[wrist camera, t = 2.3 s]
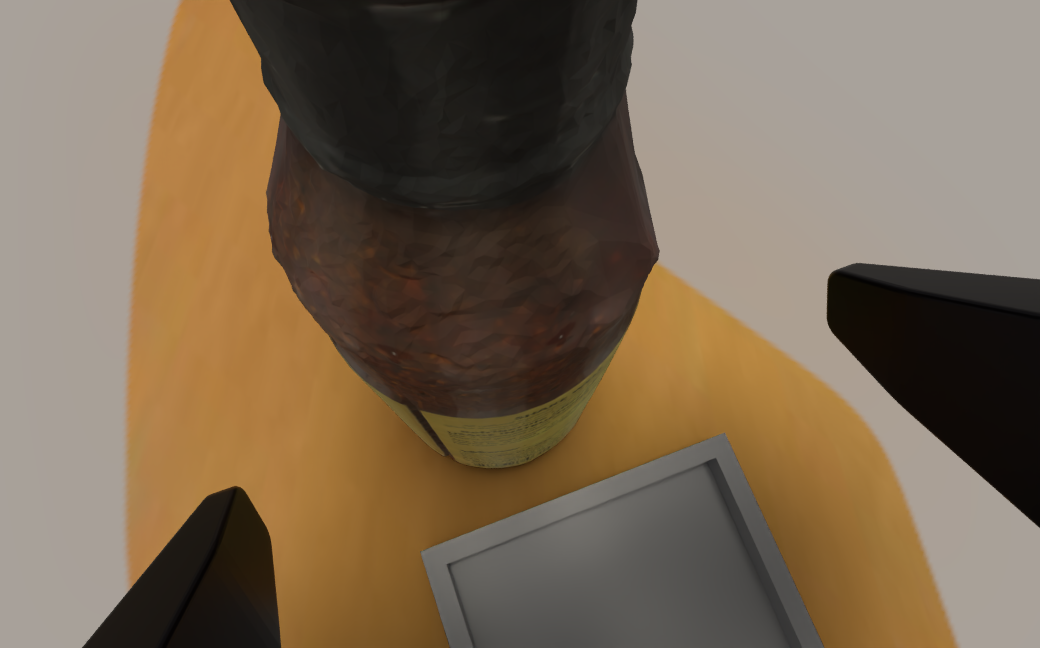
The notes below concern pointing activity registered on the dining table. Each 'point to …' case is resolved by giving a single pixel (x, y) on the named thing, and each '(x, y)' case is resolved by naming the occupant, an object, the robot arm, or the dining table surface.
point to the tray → (627, 566)
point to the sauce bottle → (460, 204)
